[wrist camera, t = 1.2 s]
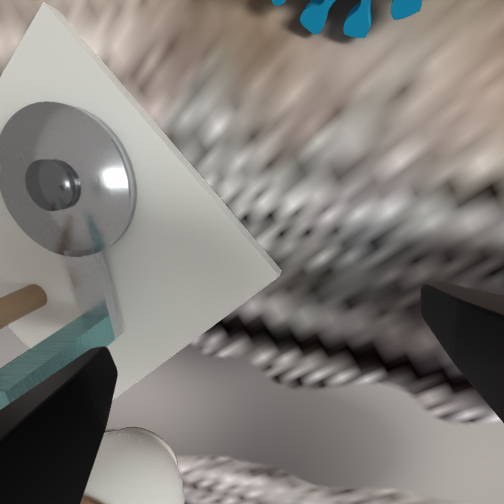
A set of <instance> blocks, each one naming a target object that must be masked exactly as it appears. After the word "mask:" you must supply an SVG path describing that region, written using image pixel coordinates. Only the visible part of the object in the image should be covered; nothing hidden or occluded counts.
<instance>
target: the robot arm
mask: <svg viewBox="0 0 504 504" xmlns="http://www.w3.org/2000/svg"><path fill="white" fill-rule="evenodd" d="M421 313H422V316H423V318H424V320H425V321H426V323H427V324H428V326H429V327H430V329H431V330H432V332H433V333H434V335H435V336H436V338H437V339H438V341H439V342H440V344H441V345H442V347H443V348H444V350H445V351H446V353H447V354H448V355H449V357H450V358H451V360H452V361H453V362H454V364H455V365H456V366H457V368H458V369H459V370H460V371H461V372H462V374H463V375H464V376H465V377H466V378H467V380H468V381H469V382H470V383H471V384H472V386H473V387H474V388H475V389H476V390H477V392H478V393H479V394H480V395H481V396H482V398H483V399H484V400H485V401H486V402H487V404H488V405H489V406H490V407H491V408H492V410H493V411H494V412H495V413H496V414H497V415H498V417H499V418H500V419H501V420H502V421H503V423H504V296H500V295H496V294H492V293H487V292H483V291H478V290H474V289H469V288H465V287H461V286H456V285H452V284H447V283H443V282H431V283H426V284H423V286H422V287H421ZM117 377H118V371H117V367H116V365H115V363H114V360H113V358H112V355H111V353H110V351H109V349H108V348H107V347H105V346H101V347H95V348H91V349H89V350H88V351H86V352H85V353H83V354H82V355H80V356H79V357H77V358H76V359H74V360H73V361H71V362H70V363H69V364H67V365H66V366H64V367H63V368H61V369H60V370H58V371H57V372H55V373H54V374H52V375H51V376H49V377H48V378H46V379H45V380H43V381H42V382H41V383H39V384H38V385H36V386H35V387H33V388H32V389H30V390H29V391H27V392H26V393H24V394H23V395H21V396H20V397H18V398H17V399H15V400H14V401H13V402H11V403H10V404H8V405H7V406H5V407H4V408H2V409H1V410H0V504H80V503H81V500H82V497H83V495H84V492H85V489H86V486H87V483H88V480H89V477H90V474H91V471H92V468H93V465H94V462H95V459H96V456H97V453H98V450H99V447H100V444H101V441H102V438H103V435H104V432H105V429H106V425H107V421H108V417H109V413H110V408H111V404H112V400H113V395H114V391H115V386H116V382H117Z"/></svg>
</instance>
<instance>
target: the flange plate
mask: <svg viewBox="0 0 504 504" xmlns="http://www.w3.org/2000/svg"><path fill="white" fill-rule="evenodd" d="M0 193H1V195H2V198H3V201H4V203H5V205H6V207H7V209H8V211H9V213H10V214H11V216H12V217H13V219H14V220H15V222H16V223H17V224H18V226H19V227H20V228H21V229H22V230H23V231H24V232H25V234H27V235H28V236H29V237H30V238H31V239H32V240H33V241H35V242H36V243H37V244H39V245H40V246H42V247H44V248H45V249H47V250H49V251H52V252H54V253H56V254H60V255H63V256H65V259H66V263H67V266H68V269H69V273H70V276H71V280H72V283H73V287H74V290H75V294H76V297H77V301H78V304H79V308H80V311H81V316H79V317H78V318H76V319H75V320H73V321H72V322H70V323H69V324H67V325H66V326H64V327H63V328H61V329H60V330H58V331H56V332H55V333H53V334H52V335H50V336H49V337H47V338H46V339H44V340H43V341H41V342H40V343H38V344H37V345H35V346H34V347H32V348H31V349H29V350H28V351H26V352H24V353H23V354H21V355H20V356H18V357H17V358H15V359H14V360H12V361H11V362H9V363H8V364H6V365H5V366H3V367H2V368H0V410H1V409H2V408H4V407H5V406H7V405H8V404H10V403H11V402H13V401H14V400H15V399H17V398H18V397H20V396H21V395H23V394H24V393H26V392H27V391H29V390H30V389H32V388H33V387H35V386H36V385H38V384H39V383H41V382H42V381H43V380H45V379H46V378H48V377H49V376H51V375H52V374H54V373H55V372H57V371H58V370H60V369H61V368H63V367H64V366H66V365H67V364H69V363H70V362H71V361H73V360H74V359H76V358H77V357H79V356H80V355H82V354H83V353H85V352H86V351H88V350H89V349H91V348H95V347H101V346H105V347H107V346H108V345H109V344H111V343H112V342H113V341H114V340H115V339H116V338H117V337H119V336H120V335H121V334H122V333H123V328H122V324H121V320H120V316H119V312H118V308H117V304H116V300H115V296H114V292H113V288H112V284H111V280H110V276H109V272H108V268H107V264H106V260H105V256H104V252H103V250H104V249H106V248H109V247H111V246H112V245H113V244H115V243H116V242H117V241H119V240H120V239H121V238H122V237H123V235H124V234H125V233H126V231H127V230H128V228H129V226H130V224H131V222H132V219H133V216H134V213H135V209H136V202H137V185H136V178H135V173H134V170H133V166H132V163H131V160H130V158H129V155H128V153H127V151H126V150H125V148H124V146H123V144H122V143H121V141H120V140H119V138H118V137H117V135H116V134H115V133H114V132H113V131H112V129H111V128H110V127H109V126H108V125H107V124H105V123H104V122H103V121H102V120H101V119H99V118H98V117H97V116H95V115H94V114H92V113H90V112H88V111H87V110H84V109H82V108H79V107H77V106H72V105H68V104H63V103H58V102H48V101H45V102H37V103H33V104H30V105H27V106H25V107H23V108H21V109H20V110H19V111H17V112H16V113H15V114H14V115H13V116H12V117H11V118H10V119H9V120H8V122H7V123H6V125H5V126H4V128H3V130H2V132H1V134H0Z"/></svg>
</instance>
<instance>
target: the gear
mask: <svg viewBox="0 0 504 504" xmlns="http://www.w3.org/2000/svg"><path fill="white" fill-rule="evenodd" d="M271 1H272V2H273V4H274V5H275V6H279V5H281V4H283V3H284V2H285V1H286V0H271ZM335 1H336V0H311V1H310V2H308V3H307V5H306V6H305V8H304V10H303V12H302V14H301V17H300V22H301V23H302V25H303V26H304V27H305V28H306V29H307V30H309V31H310V32H312V33H313V34H315V35H316V34H318V33H319V32H320V31H321V30H322V28H323V26H324V24H325V21H326V19H327V15H328V11H329V8H330V7H331V5H332V4H333V3H334V2H335ZM421 5H422V0H393V2H392V6H391V15H392V17H393V19H394V20H398V19H403V18H406V17H408V16H410V15H412V14H414V13H416V12H418V11H420V8H421ZM371 22H372V12H371V0H361V2H360V3H359V4H357V5H356V6H355V7H354V8H352V9H351V10H350V12H349V13H348V15H347V18H346V21H345V23H344V27H343V32H344V34H345V35H347V36H350V37H356V38H365V37H366V35H367V34H368V32H369V29H370V25H371Z"/></svg>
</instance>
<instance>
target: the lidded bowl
mask: <svg viewBox="0 0 504 504" xmlns="http://www.w3.org/2000/svg"><path fill="white" fill-rule="evenodd" d="M184 502H185V498H184V489H183V482H182V479H181V475H180V472H179V469H178V462H177V459H176V456H175V454H174V452H173V450H172V449H171V447H170V446H169V445H168V444H167V443H166V442H165V441H164V440H163V439H162V438H161V437H159V436H158V435H156V434H155V433H153V432H151V431H148V430H146V429H143V428H138V427H128V428H123V429H120V430H117V431H110V432H105V433H104V435H103V438H102V441H101V444H100V447H99V450H98V453H97V456H96V459H95V462H94V465H93V468H92V471H91V474H90V477H89V480H88V483H87V486H86V489H85V492H84V495H83V497H82V500H81V503H80V504H184Z"/></svg>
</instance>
